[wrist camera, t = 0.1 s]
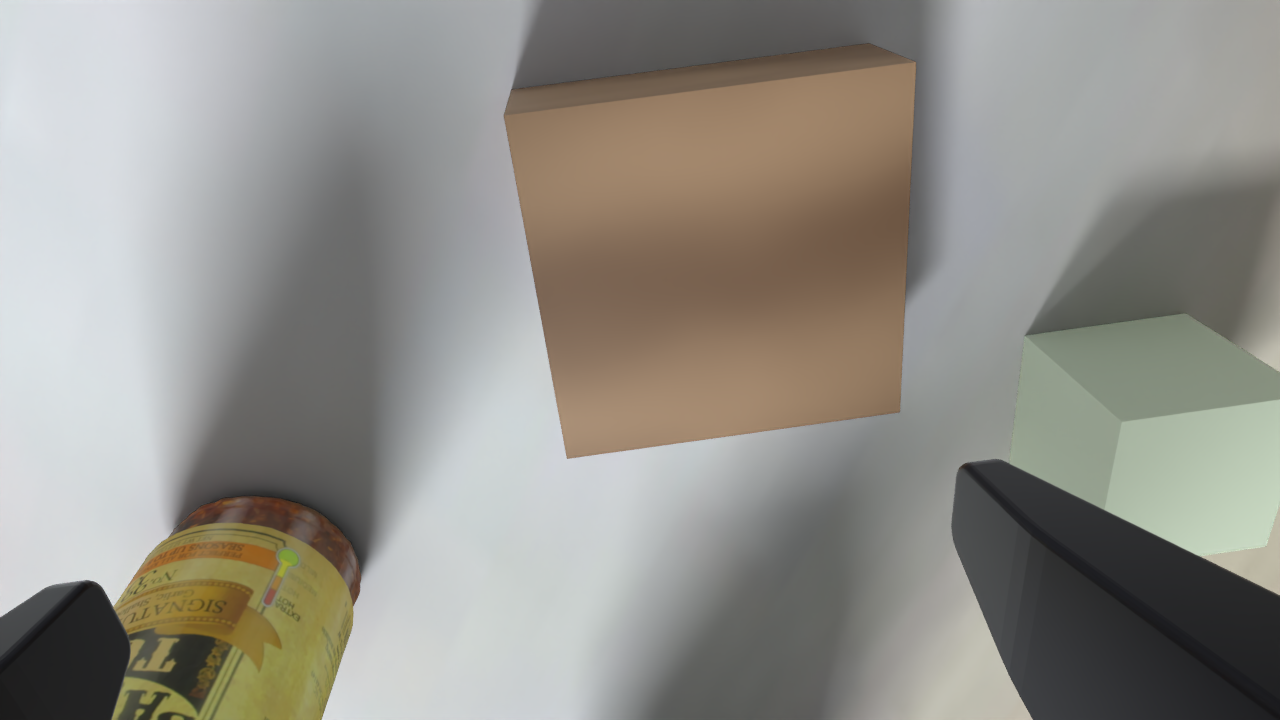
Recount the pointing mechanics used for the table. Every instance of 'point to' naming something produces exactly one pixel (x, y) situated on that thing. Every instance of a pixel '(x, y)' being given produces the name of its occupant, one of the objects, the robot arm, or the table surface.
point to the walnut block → (719, 243)
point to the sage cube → (1155, 428)
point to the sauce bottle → (239, 615)
